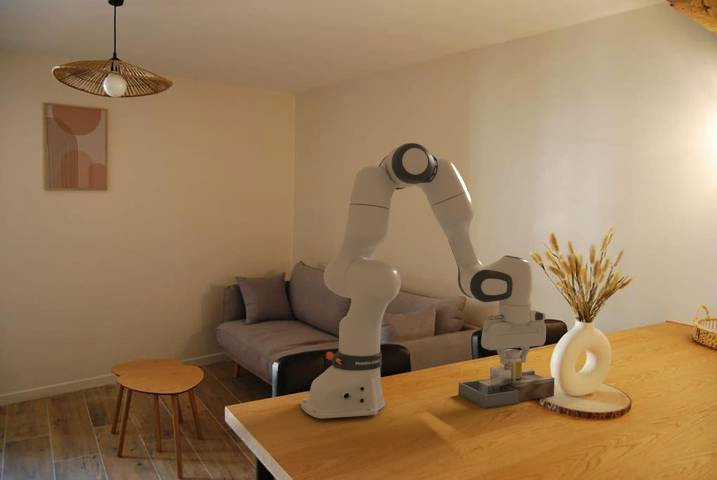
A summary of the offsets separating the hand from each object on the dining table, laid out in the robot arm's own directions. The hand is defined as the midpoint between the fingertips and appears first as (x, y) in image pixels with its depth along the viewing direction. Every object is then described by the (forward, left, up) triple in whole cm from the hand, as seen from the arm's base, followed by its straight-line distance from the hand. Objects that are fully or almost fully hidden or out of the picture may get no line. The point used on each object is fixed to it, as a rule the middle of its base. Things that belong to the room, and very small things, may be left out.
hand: (512, 363), depth 151 cm
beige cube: (-6, 0, -7) cm, 9 cm away
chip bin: (-8, 0, -9) cm, 12 cm away
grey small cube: (-4, 0, -5) cm, 7 cm away
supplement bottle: (0, 0, -5) cm, 5 cm away
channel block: (+4, 0, -9) cm, 10 cm away
